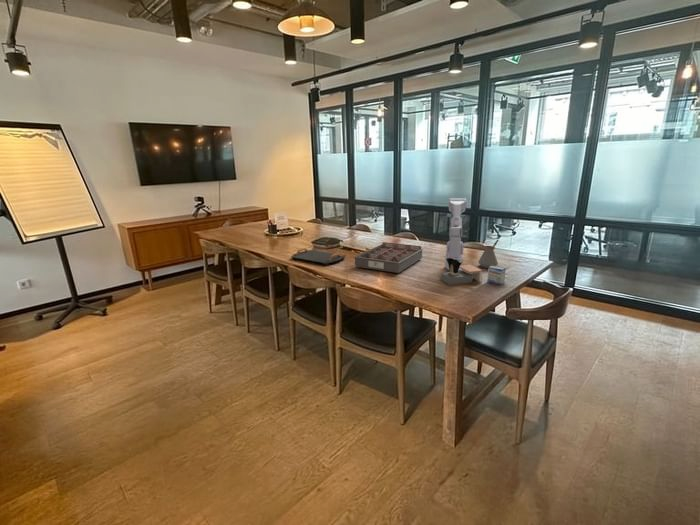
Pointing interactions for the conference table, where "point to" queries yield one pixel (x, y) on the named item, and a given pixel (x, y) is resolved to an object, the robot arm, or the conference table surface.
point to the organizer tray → (389, 257)
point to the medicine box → (496, 275)
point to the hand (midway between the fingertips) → (453, 271)
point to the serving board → (317, 256)
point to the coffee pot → (488, 257)
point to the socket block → (457, 278)
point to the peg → (452, 271)
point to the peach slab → (473, 271)
